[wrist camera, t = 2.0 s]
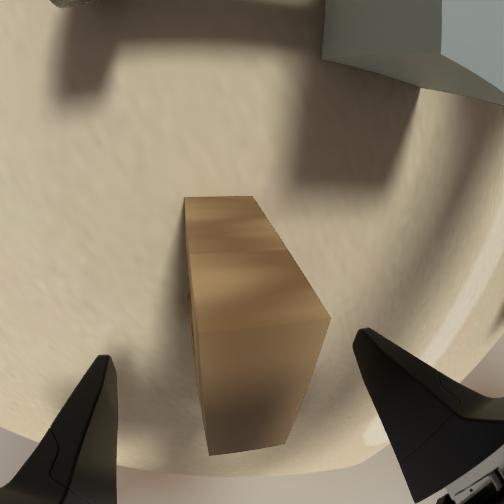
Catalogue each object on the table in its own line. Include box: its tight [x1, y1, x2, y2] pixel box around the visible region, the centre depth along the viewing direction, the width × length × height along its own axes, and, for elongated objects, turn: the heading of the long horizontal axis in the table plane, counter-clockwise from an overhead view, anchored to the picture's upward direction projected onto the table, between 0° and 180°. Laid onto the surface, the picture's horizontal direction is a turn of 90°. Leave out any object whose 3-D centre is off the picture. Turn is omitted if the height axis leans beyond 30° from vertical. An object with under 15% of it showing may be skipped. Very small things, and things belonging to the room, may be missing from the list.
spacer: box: [185, 196, 331, 456], centre depth 12 cm, size 3×7×8 cm, turn 175°
